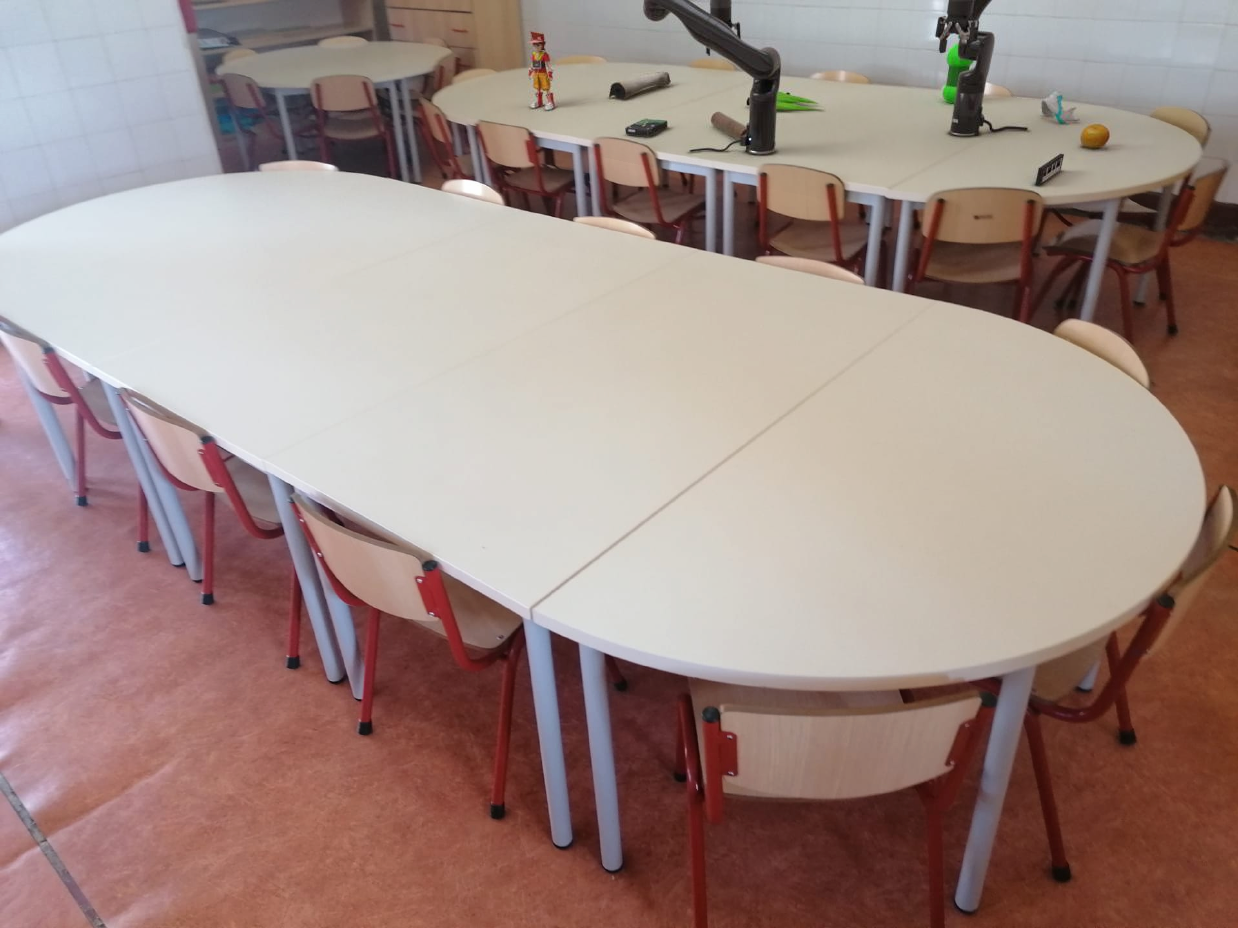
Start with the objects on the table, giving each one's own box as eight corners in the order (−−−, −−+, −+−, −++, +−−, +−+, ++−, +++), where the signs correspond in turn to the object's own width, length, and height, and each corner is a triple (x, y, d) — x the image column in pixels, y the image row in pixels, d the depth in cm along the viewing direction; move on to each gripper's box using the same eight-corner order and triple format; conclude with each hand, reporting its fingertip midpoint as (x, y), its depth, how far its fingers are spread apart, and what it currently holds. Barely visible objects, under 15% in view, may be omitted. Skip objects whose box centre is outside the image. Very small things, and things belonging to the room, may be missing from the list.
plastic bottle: (973, 101, 354) (984, 32, 339) (955, 106, 349) (966, 36, 335) (952, 97, 361) (962, 29, 346) (934, 102, 356) (944, 33, 342)
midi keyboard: (1039, 185, 269) (1043, 168, 266) (1035, 184, 270) (1038, 168, 267) (1060, 170, 279) (1064, 154, 277) (1056, 169, 280) (1060, 153, 277)
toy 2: (737, 109, 358) (807, 121, 345) (739, 95, 355) (810, 107, 342) (766, 99, 378) (833, 110, 366) (767, 86, 375) (835, 96, 363)
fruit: (1076, 138, 294) (1094, 116, 291) (1073, 141, 302) (1090, 120, 299) (1098, 153, 293) (1116, 131, 290) (1095, 155, 300) (1112, 134, 297)
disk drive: (648, 138, 335) (668, 127, 345) (648, 130, 333) (667, 120, 343) (625, 135, 340) (644, 125, 350) (624, 127, 338) (644, 117, 348)
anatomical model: (1035, 91, 328) (1062, 83, 328) (1034, 119, 334) (1061, 112, 334) (1054, 100, 316) (1083, 93, 315) (1053, 130, 322) (1081, 122, 321)
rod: (754, 142, 322) (753, 127, 319) (740, 146, 321) (740, 130, 318) (724, 125, 344) (723, 110, 341) (711, 128, 343) (710, 113, 340)
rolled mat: (651, 76, 408) (662, 61, 399) (662, 93, 408) (674, 79, 400) (605, 92, 391) (616, 77, 383) (617, 110, 391) (628, 95, 383)
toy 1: (525, 109, 381) (517, 32, 364) (534, 104, 388) (527, 28, 371) (550, 110, 377) (543, 32, 360) (559, 105, 384) (553, 28, 367)
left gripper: (740, 3, 320) (740, 52, 329) (700, 5, 322) (701, 54, 331) (741, 6, 314) (740, 56, 323) (700, 8, 315) (701, 58, 325)
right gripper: (935, -3, 279) (927, 53, 288) (972, 1, 269) (963, 59, 278) (951, -6, 282) (943, 50, 291) (989, -2, 272) (979, 56, 281)
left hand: (720, 55), depth 327 cm, fingers open, 8 cm apart
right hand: (953, 54), depth 285 cm, fingers open, 8 cm apart
